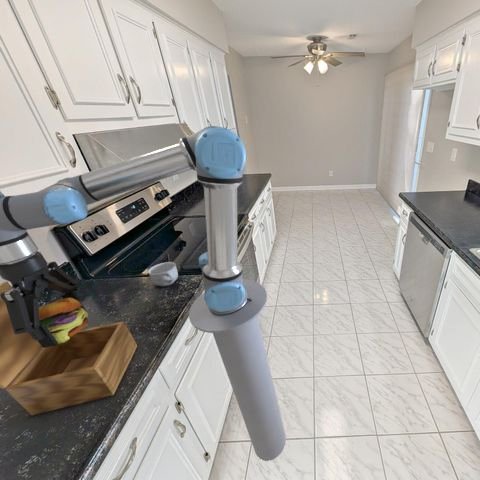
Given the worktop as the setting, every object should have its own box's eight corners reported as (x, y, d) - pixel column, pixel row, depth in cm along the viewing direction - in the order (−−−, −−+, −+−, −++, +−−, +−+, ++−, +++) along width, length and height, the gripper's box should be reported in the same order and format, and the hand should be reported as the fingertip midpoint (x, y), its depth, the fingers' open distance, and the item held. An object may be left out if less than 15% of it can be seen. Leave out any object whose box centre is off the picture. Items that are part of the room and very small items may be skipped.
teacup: (151, 282, 116) (145, 267, 113) (176, 272, 123) (171, 258, 119) (159, 296, 107) (152, 280, 103) (185, 284, 113) (180, 269, 110)
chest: (137, 345, 84) (123, 321, 79) (113, 395, 69) (94, 368, 64) (71, 360, 80) (52, 335, 75) (31, 415, 66) (5, 389, 61)
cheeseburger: (34, 355, 61) (12, 319, 58) (52, 335, 70) (34, 303, 67) (86, 335, 65) (68, 300, 62) (97, 318, 74) (82, 288, 72)
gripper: (35, 238, 67) (76, 301, 77) (-60, 292, 46) (13, 370, 56) (68, 233, 69) (104, 296, 78) (-10, 284, 48) (52, 361, 58)
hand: (66, 327), depth 67 cm, fingers closed on cheeseburger, 11 cm apart
